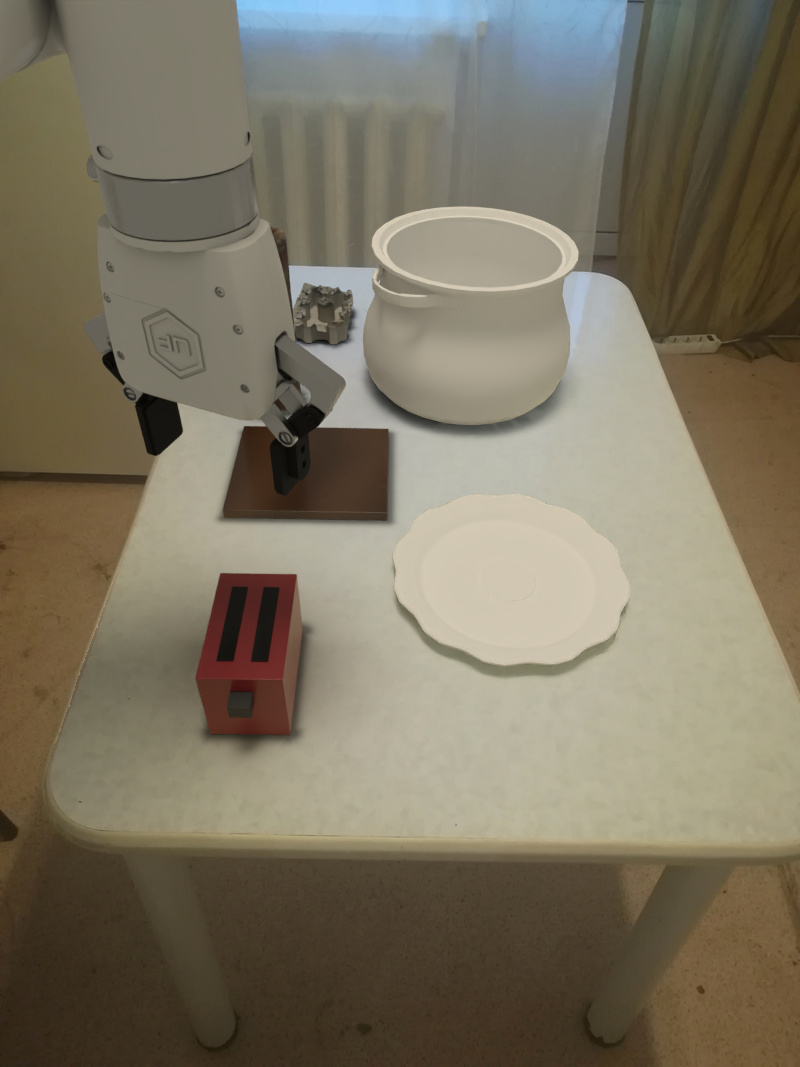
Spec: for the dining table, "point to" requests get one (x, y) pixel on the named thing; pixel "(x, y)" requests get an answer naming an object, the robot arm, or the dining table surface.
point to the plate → (510, 579)
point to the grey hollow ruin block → (322, 313)
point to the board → (313, 477)
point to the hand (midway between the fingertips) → (227, 462)
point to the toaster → (251, 654)
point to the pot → (468, 313)
